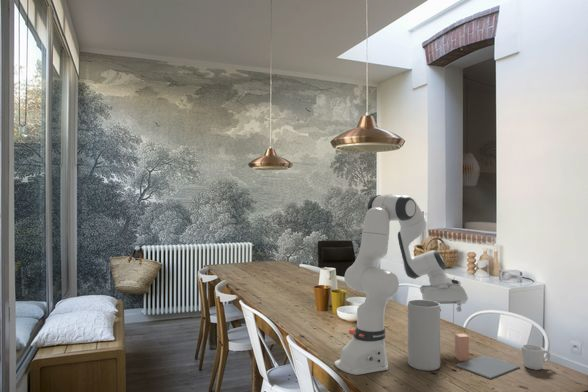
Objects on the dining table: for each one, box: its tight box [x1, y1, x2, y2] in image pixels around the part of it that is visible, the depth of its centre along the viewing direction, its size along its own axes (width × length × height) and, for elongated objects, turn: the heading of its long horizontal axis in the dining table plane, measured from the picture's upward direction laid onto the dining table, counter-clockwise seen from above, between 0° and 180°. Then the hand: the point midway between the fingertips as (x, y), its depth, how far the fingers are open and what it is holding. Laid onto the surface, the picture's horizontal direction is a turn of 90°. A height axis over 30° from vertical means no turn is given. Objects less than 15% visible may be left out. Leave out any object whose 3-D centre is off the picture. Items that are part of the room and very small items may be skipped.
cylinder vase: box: [407, 299, 441, 372], centre depth 172 cm, size 12×12×25 cm
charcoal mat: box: [455, 354, 520, 380], centre depth 170 cm, size 20×15×1 cm
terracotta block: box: [454, 333, 470, 362], centre depth 179 cm, size 4×4×10 cm
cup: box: [521, 344, 551, 371], centre depth 170 cm, size 11×8×8 cm
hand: (449, 311), depth 191 cm, fingers open, 8 cm apart
